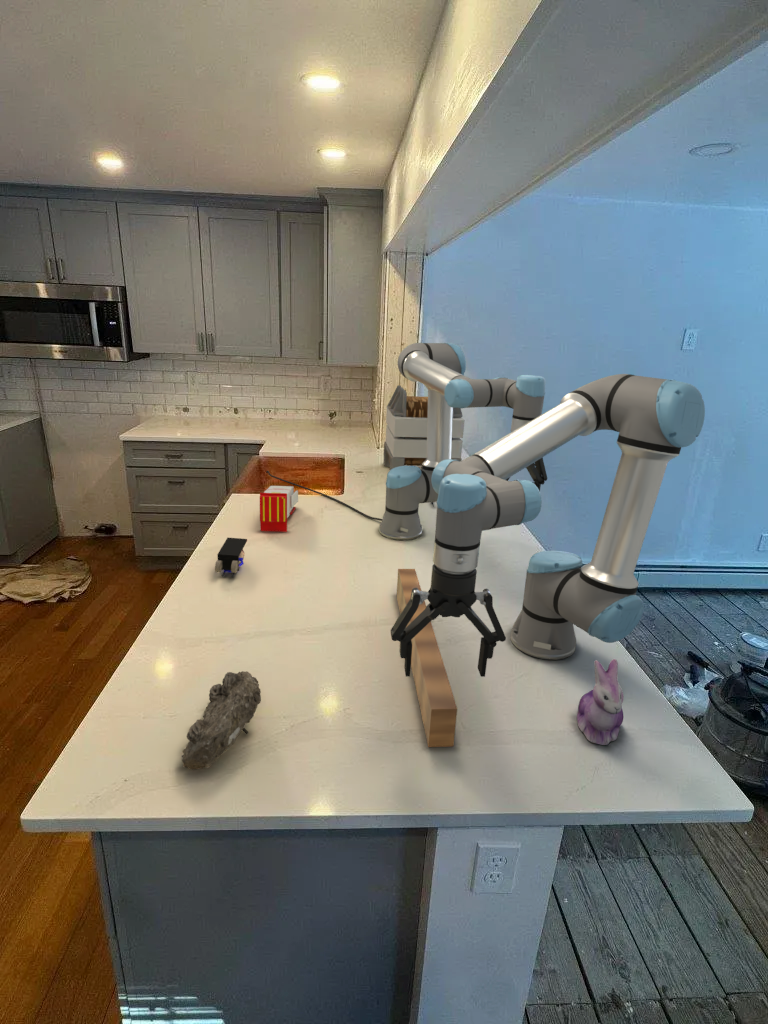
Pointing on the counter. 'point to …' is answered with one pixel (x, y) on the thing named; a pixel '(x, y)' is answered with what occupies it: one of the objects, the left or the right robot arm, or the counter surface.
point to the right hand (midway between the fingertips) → (444, 672)
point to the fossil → (222, 719)
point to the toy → (277, 507)
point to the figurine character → (230, 556)
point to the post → (429, 672)
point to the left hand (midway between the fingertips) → (515, 508)
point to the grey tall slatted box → (414, 431)
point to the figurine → (602, 706)
